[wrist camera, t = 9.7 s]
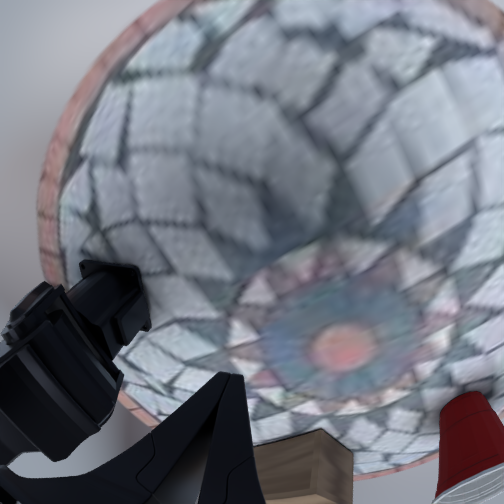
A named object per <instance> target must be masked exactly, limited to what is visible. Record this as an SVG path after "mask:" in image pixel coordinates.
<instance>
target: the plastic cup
mask: <svg viewBox="0 0 504 504" xmlns="http://www.w3.org/2000/svg"><path fill="white" fill-rule="evenodd" d="M439 427H440V441H439V477H438V484H437V491H436V494H435V499H434V500H433V501H432V504H480V503H482V502H484V501H487V500H489V499H491V498H493V497H495V496H497V495H498V494H500V493H502V492H503V491H504V426H503V424H502V422H501V421H500V419H499V417H498V416H497V414H496V412H495V411H493V409H492V408H491V406H490V404H489V403H488V401H487V399H486V398H485V396H483V395H482V393H480V392H477V391H474V392H468V393H465V394H462V395H460V396H458V397H457V398H455V399H453V400H452V401H450V402H449V403H448V404H447V405H446V406H445V407H444V408H443V409H442V411H441V413H440V421H439Z"/></svg>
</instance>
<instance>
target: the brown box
mask: <svg viewBox="0 0 504 504" xmlns="http://www.w3.org/2000/svg"><path fill="white" fill-rule="evenodd" d="M253 449H254V457H255V462H256V468H257V473H258V478H259V482H260V485H261V489H262V492H263V495H264V498H265V501H266V504H352V502H353V453H351V452H350V451H349V450H347V449H346V448H345V447H343V446H342V445H341V444H339V443H338V442H337V441H335V440H334V439H333V438H332V437H330V436H329V435H328V434H326V433H325V432H324V431H323V430H318V431H315V432H312V433H308V434H305V435H301V436H298V437H294V438H291V439H287V440H283V441H279V442H275V443H271V444H267V445H263V446H258V447H253Z"/></svg>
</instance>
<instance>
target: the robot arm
mask: <svg viewBox="0 0 504 504" xmlns="http://www.w3.org/2000/svg"><path fill="white" fill-rule="evenodd" d="M79 267H80V271H81V274H82V278H83V279H82V280H80V281H79V282H78V283H77V284H76V285H75V286H73V287H72V288H71V289H70V290H69V291H68V292H66V293H65V289H64V288H63V286H62V284H59V285H57V286H55V287H53V286H52V285H50V284H48V283H47V282H45V281H44V282H42V283H40V284H39V285H38V286H37V287H35V288H34V289H33V290H31V291H30V292H29V293H28V294H27V295H26V296H25V297H24V298H23V299H22V300H21V301H20V302H19V303H18V304H17V305H16V306H15V307H14V308H13V309H12V310H11V312H10V320H9V321H8V323H7V324H6V326H5V328H4V329H3V331H2V332H1V335H2V337H3V338H4V340H3V341H2V342H0V504H195V502H196V499H197V497H198V494H199V492H200V495H199V499H198V504H266V501H265V498H264V495H263V492H262V489H261V485H260V482H259V478H258V473H257V468H256V462H255V457H254V449H253V442H252V435H251V427H250V420H249V413H248V405H247V398H246V390H245V383H244V376H243V375H241V374H234V373H233V374H230V373H228V372H221V371H220V372H218V373H217V374H215V375H214V376H213V377H212V378H211V379H210V380H209V381H208V382H207V383H206V384H205V385H204V386H202V387H201V388H200V389H199V390H198V391H197V392H196V393H195V394H194V395H192V396H191V397H190V398H189V399H188V400H187V401H186V402H185V403H183V404H182V405H181V406H180V407H179V408H178V409H177V410H175V411H174V412H173V413H172V414H171V415H170V416H169V417H167V418H166V419H165V420H164V421H163V422H162V423H160V424H159V425H158V426H157V427H156V428H154V429H153V430H152V431H151V433H148V434H147V435H146V436H145V437H144V438H142V439H141V440H140V441H138V442H137V443H136V444H134V445H133V446H132V447H130V448H129V449H127V450H126V451H124V452H123V453H121V454H120V455H118V456H117V457H115V458H113V459H111V460H110V461H108V462H106V463H105V464H103V465H101V466H99V467H98V468H96V469H94V470H92V471H90V472H88V473H86V474H82V475H78V476H69V477H57V478H25V477H21V476H18V475H17V474H15V473H14V472H13V471H11V470H10V469H9V468H8V467H7V466H8V465H9V464H10V463H11V462H13V461H14V460H15V459H16V458H17V457H18V456H20V455H21V454H22V453H28V452H42V453H43V454H44V455H45V456H47V457H48V458H49V459H50V460H51V461H53V462H57V461H60V460H64V459H66V458H67V457H68V456H69V455H70V454H71V453H72V452H73V451H74V450H75V449H76V448H77V447H78V446H79V445H80V443H82V442H83V441H84V440H86V439H87V438H88V437H89V436H91V435H93V434H95V433H97V432H99V431H100V430H101V427H102V425H104V424H105V423H106V422H107V421H108V419H109V418H110V417H111V415H112V413H113V411H114V407H115V404H116V401H117V397H118V394H119V391H120V387H121V384H122V381H123V378H124V374H123V373H122V371H121V370H119V369H118V368H117V367H116V365H115V364H114V363H113V362H112V360H113V359H114V358H115V357H116V355H117V354H118V352H119V351H120V350H121V348H122V347H123V346H128V345H129V344H130V342H131V341H132V340H133V338H134V337H135V335H136V334H137V333H138V331H139V330H140V331H145V332H148V331H149V330H150V329H151V322H150V318H149V311H148V307H147V303H146V298H145V294H144V291H143V286H142V282H141V277H140V272H139V269H138V268H137V267H136V266H132V265H123V264H115V263H106V262H98V261H90V260H83V261H81V262H80V263H79ZM132 271H133V272H134V273H135V274H134V273H133V272H132Z"/></svg>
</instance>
